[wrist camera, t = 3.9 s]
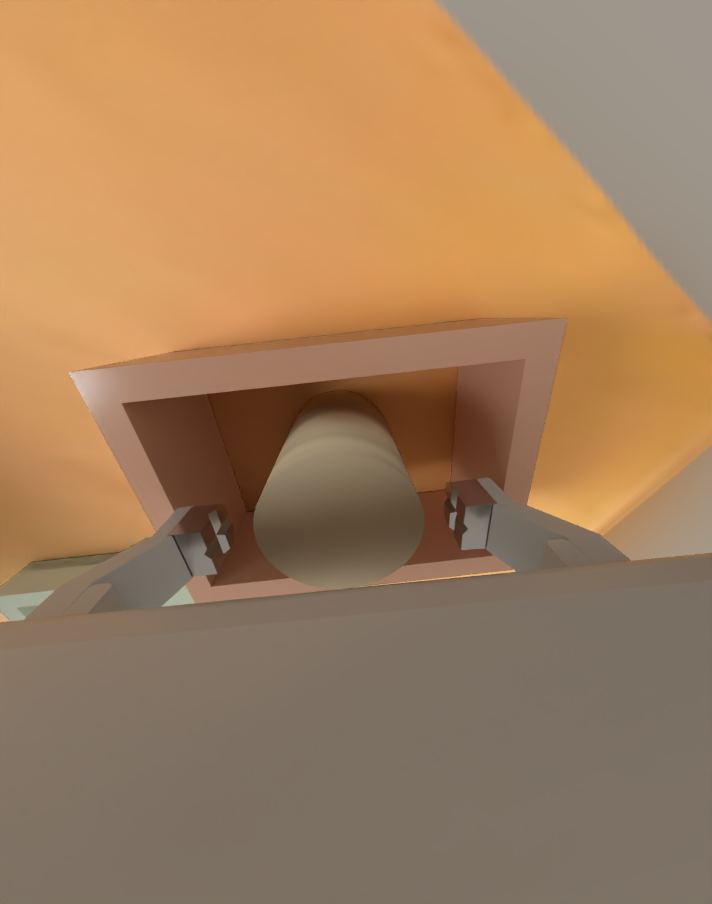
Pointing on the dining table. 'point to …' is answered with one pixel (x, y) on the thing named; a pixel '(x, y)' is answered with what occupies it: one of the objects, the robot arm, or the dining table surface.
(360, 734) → the robot arm
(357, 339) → the open square frame
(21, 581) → the tray
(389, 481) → the beech cylinder
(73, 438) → the dining table surface
